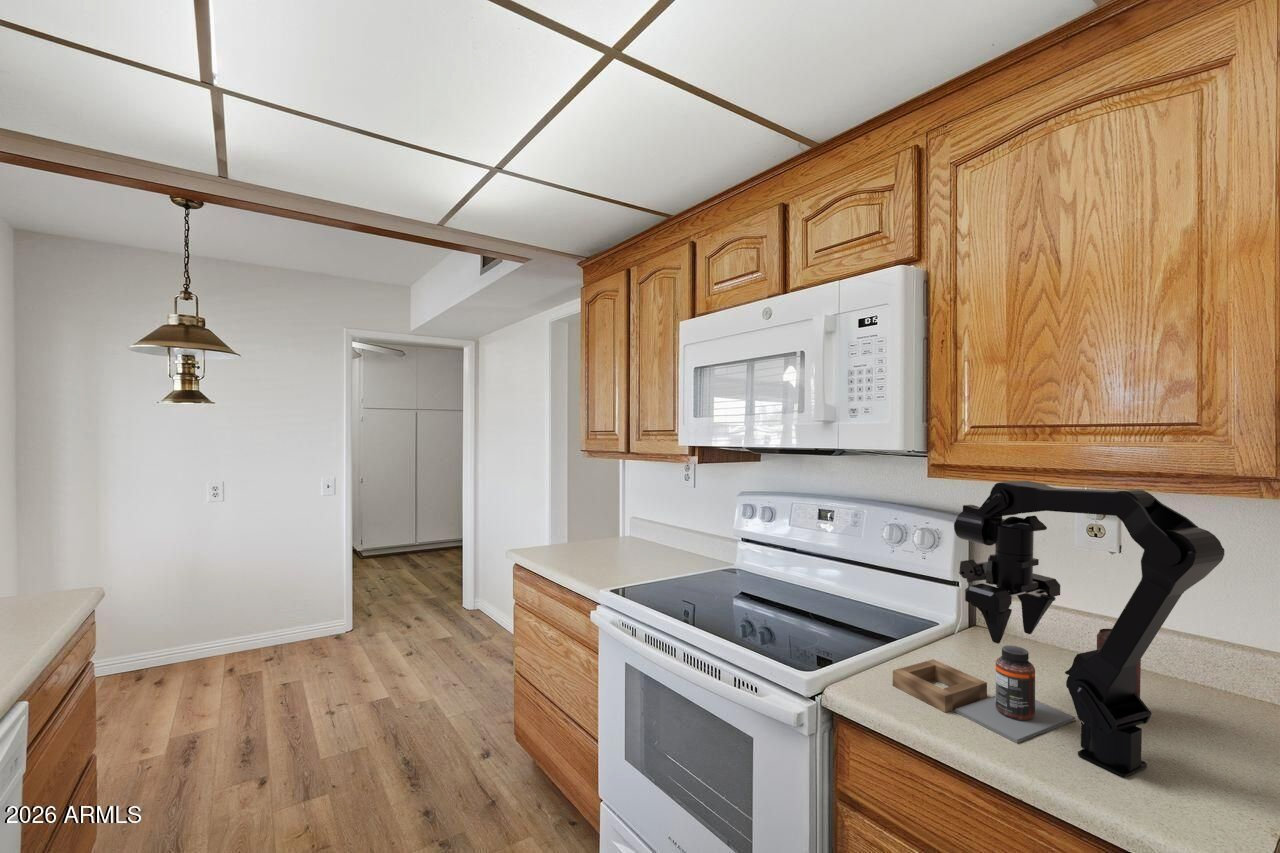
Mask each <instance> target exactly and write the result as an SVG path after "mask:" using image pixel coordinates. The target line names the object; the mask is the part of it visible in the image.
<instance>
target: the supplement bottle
mask: <svg viewBox="0 0 1280 853" xmlns="http://www.w3.org/2000/svg"><path fill="white" fill-rule="evenodd" d="M1029 659H1030V657H1029V651H1028V650H1027V649H1026V648H1023V647H1021V646H1018V645H1011V644H1010V645H1009V644H1008V645H1003V646H1002V647H1001V656H1000V657H998V658H997V659H996V660H995V671H994V672H995V684H994V685H995V686H994V687H995V688H994V689H995V695H994V696H995V703H996V709H997V710H998V711H999V712H1000V713H1002V714H1003V715H1005V716H1007V717H1011V718H1014V719H1018V720H1028V719H1032V718H1033V717H1034V716H1035V700H1036V668H1035V666H1034V665H1033V664H1032V663H1031V662H1030V661H1029Z"/></svg>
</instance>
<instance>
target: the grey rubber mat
mask: <svg viewBox="0 0 1280 853" xmlns="http://www.w3.org/2000/svg"><path fill="white" fill-rule="evenodd" d="M954 711H955V713H956V714H959V715H960V716H962V717H964V718H966V719H968V720H970V721H972V722H974V723H976V724H978V725H980V726H982V727H984V728H986V729H987V730H989V731H992V732H994V733H996V734H997V735H1000V736H1002V737H1004V738H1005V739H1008V740H1010V741H1011V742H1013V743H1015V744H1019V743H1022V742H1024V741H1026V740H1029V739H1031V738H1034V737H1036V736H1039V735H1042V734H1044V733H1046V732H1049V731H1052V730H1055V729H1056V728H1059V727H1061V726H1064V725H1066V724H1069V723H1071V722H1074V721H1076V717H1075V716H1074V715H1072V714H1070V713H1067V712H1065V711H1062V710H1061V709H1058V708H1056V707H1053V706H1052V705H1051V706H1050V705H1048V704H1046V703H1044V702H1041V701H1039V700H1037V699H1035V716H1034V717H1033V718H1032V719H1028V720H1018V719H1014V718H1011V717H1007V716H1005V715H1003V714H1002V713H1000V712H999V711H998V710H997V709H996V703H995V695H992V696H989V697H987V698H986V699H983V700H980V701H977V702H974V703H971V704H968V705H966V706H963V707H960V708H957V709H954Z"/></svg>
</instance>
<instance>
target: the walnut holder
mask: <svg viewBox="0 0 1280 853" xmlns="http://www.w3.org/2000/svg"><path fill="white" fill-rule="evenodd" d="M932 681H937V682H939V683H941V684H943V685H946V686H948V687H945V688H942V687H940V686H938V685H935V684H934V683H931V682H932ZM892 686H893V687H894V688H896V689H898V690H901V691H902V692H905V693H907V694H908V695H910V696H912V697H914V698H916V699H918V700H920V701H922V702H924V703H926V704H928V705H930V706H931V707H933V708H935V709H938V710H939V711H941V712H943V713H948V712H950V711H955V709H957V708H960V707H963V706H966V705H968V704H971V703H974V702H977V701H980V700H983V699H986V698H988V682H986V681H984V680H982V679H980V678H978V677H975V676H973V675H971V674H968V673H966V672H964V671H962V670H960V669H956V668H954V667H953V666H950V665H948V664H945V663H942V662H940V661H939V660H936V659H933V658H932V659H931V660H930V659H929V660H926V661H922V662H919V663H915V664H911V665H908V666H905V667H901V668H898V669H893V670H892Z"/></svg>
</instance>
